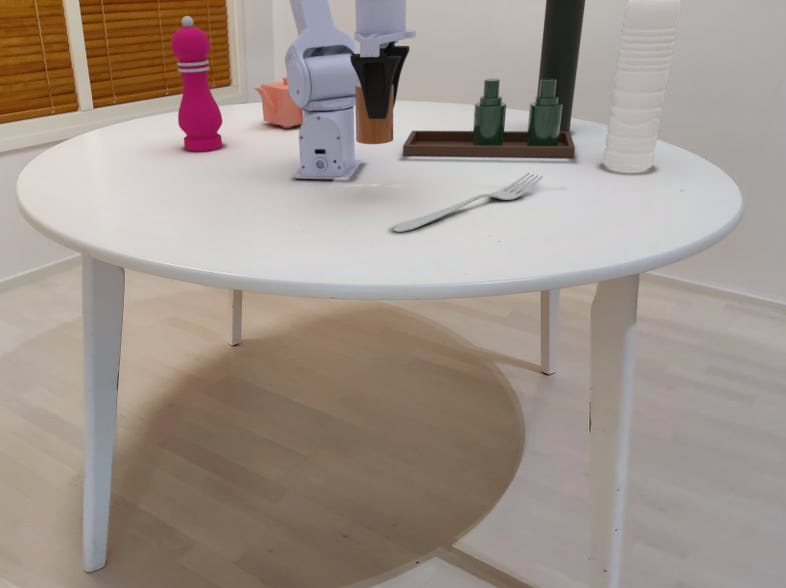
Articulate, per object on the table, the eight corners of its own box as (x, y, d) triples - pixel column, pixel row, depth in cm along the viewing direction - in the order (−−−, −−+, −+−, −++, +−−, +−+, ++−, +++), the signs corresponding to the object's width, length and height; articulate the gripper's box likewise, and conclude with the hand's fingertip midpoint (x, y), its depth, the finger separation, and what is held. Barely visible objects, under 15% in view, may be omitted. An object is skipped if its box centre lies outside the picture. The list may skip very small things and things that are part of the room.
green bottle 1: (502, 152, 106) (508, 82, 101) (471, 151, 107) (475, 82, 102) (503, 145, 110) (508, 77, 105) (473, 144, 111) (476, 77, 106)
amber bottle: (388, 144, 85) (388, 56, 80) (351, 143, 86) (349, 56, 82) (396, 136, 89) (397, 51, 84) (361, 135, 90) (360, 51, 85)
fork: (385, 228, 80) (385, 213, 79) (524, 185, 92) (526, 171, 92) (405, 235, 78) (405, 219, 77) (545, 190, 90) (546, 176, 89)
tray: (573, 162, 101) (574, 147, 100) (403, 159, 107) (403, 145, 106) (568, 145, 110) (570, 131, 109) (411, 143, 116) (412, 130, 114)
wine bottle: (564, 128, 121) (588, -78, 106) (573, 136, 116) (599, -79, 101) (530, 129, 121) (549, -76, 106) (537, 137, 116) (559, -78, 101)
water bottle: (631, 176, 94) (668, -39, 82) (591, 167, 99) (620, -38, 86) (671, 165, 98) (712, -42, 86) (631, 156, 103) (664, -41, 90)
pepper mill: (229, 142, 122) (215, 13, 112) (219, 152, 116) (203, 16, 106) (188, 142, 123) (171, 15, 113) (176, 152, 116) (156, 18, 107)
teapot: (241, 125, 134) (236, 78, 130) (307, 114, 141) (305, 69, 137) (272, 135, 125) (268, 85, 121) (341, 122, 132) (340, 75, 128)
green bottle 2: (558, 152, 104) (566, 81, 99) (526, 152, 105) (532, 81, 100) (556, 145, 108) (564, 76, 103) (525, 145, 109) (531, 77, 104)
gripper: (406, -10, 72) (405, 126, 79) (423, -16, 85) (421, 103, 91) (339, -8, 74) (343, 126, 81) (366, -14, 86) (368, 103, 93)
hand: (381, 114), depth 86 cm, fingers closed on amber bottle, 4 cm apart
